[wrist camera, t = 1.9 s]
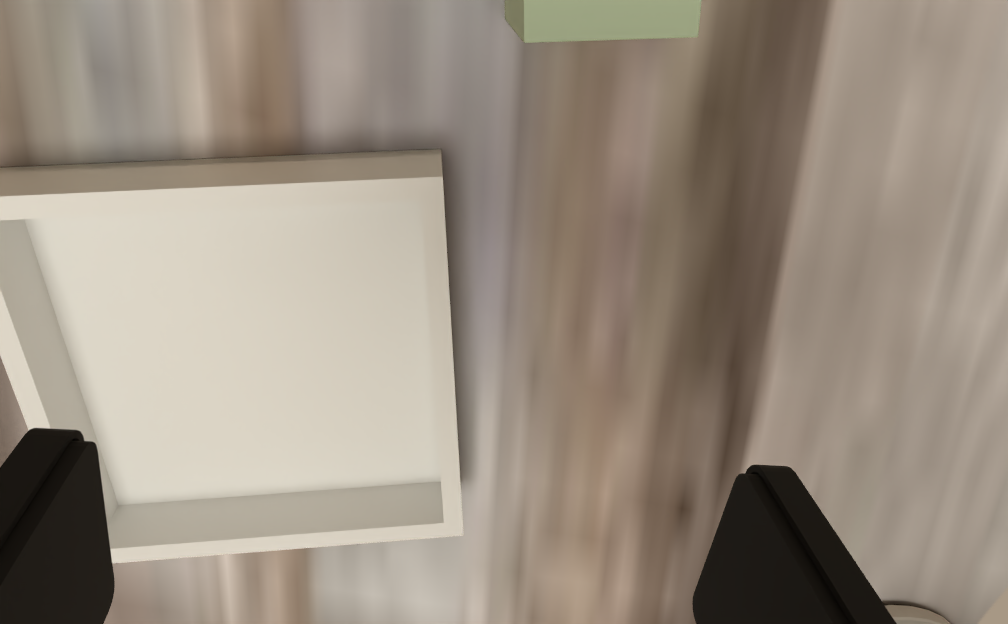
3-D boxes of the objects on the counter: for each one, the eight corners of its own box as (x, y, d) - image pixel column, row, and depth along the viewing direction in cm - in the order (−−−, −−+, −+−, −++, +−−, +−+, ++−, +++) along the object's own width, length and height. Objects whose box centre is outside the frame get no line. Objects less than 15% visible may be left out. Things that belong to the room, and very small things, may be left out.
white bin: (440, 148, 28) (442, 176, 25) (460, 482, 36) (463, 535, 33) (-4, 167, 27) (-59, 199, 24) (111, 508, 34) (80, 565, 31)
